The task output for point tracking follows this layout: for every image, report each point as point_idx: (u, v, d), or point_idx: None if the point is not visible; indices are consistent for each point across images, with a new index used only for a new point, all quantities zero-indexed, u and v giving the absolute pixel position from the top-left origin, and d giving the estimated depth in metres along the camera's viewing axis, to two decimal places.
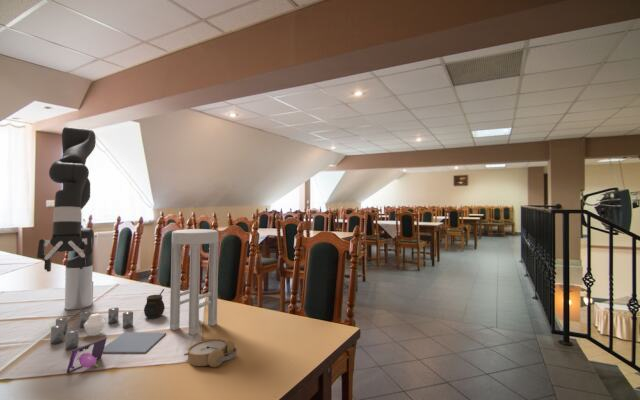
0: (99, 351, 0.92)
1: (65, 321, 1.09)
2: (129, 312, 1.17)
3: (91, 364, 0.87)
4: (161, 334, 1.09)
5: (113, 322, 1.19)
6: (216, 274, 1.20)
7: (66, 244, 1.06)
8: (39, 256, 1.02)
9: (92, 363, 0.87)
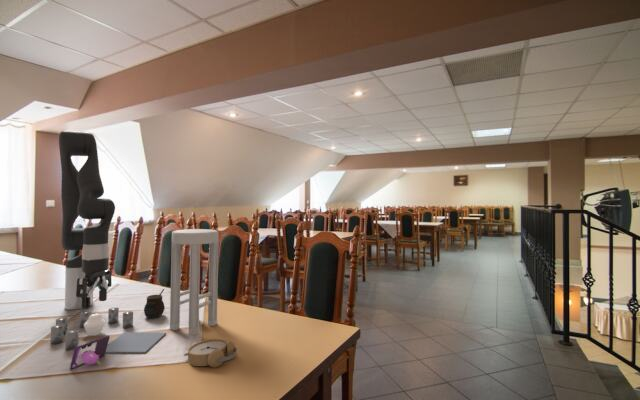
0: (102, 349, 0.94)
1: (65, 321, 1.09)
2: (129, 312, 1.17)
3: (93, 362, 0.88)
4: (161, 334, 1.09)
5: (113, 322, 1.19)
6: (216, 274, 1.20)
7: None
8: (85, 295, 1.03)
9: (94, 360, 0.88)
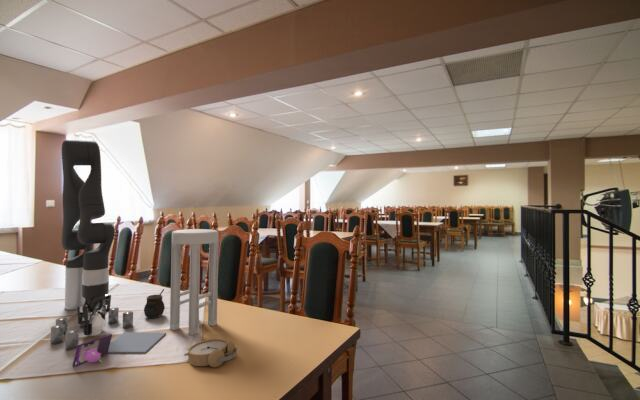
0: (105, 347, 0.95)
1: (65, 321, 1.09)
2: (129, 312, 1.17)
3: (95, 359, 0.90)
4: (161, 334, 1.09)
5: (113, 322, 1.19)
6: (216, 274, 1.20)
7: None
8: (87, 322, 1.04)
9: (96, 358, 0.90)
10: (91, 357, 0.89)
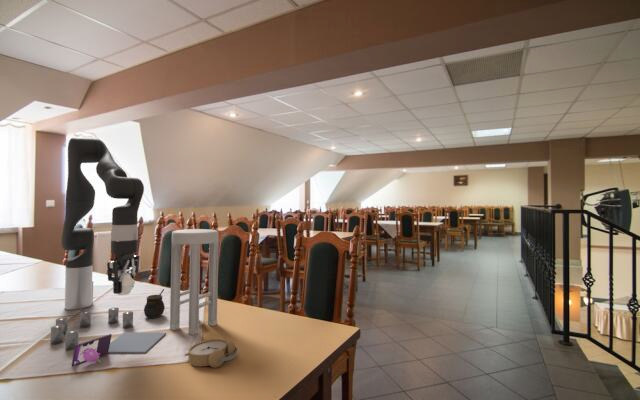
0: (105, 347, 0.95)
1: (65, 321, 1.09)
2: (129, 312, 1.17)
3: (93, 360, 0.89)
4: (161, 334, 1.09)
5: (113, 322, 1.19)
6: (216, 274, 1.20)
7: None
8: (117, 279, 0.99)
9: (94, 358, 0.89)
10: (89, 357, 0.89)
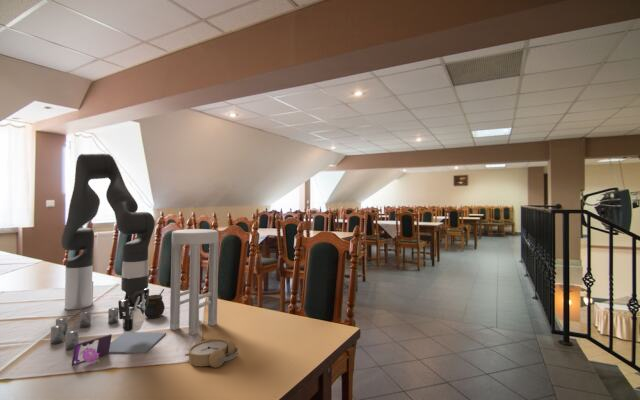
0: (105, 347, 0.95)
1: (65, 321, 1.09)
2: None
3: (92, 360, 0.89)
4: (161, 334, 1.09)
5: (113, 322, 1.19)
6: (216, 274, 1.20)
7: None
8: (128, 317, 0.98)
9: (93, 358, 0.89)
10: (88, 357, 0.89)
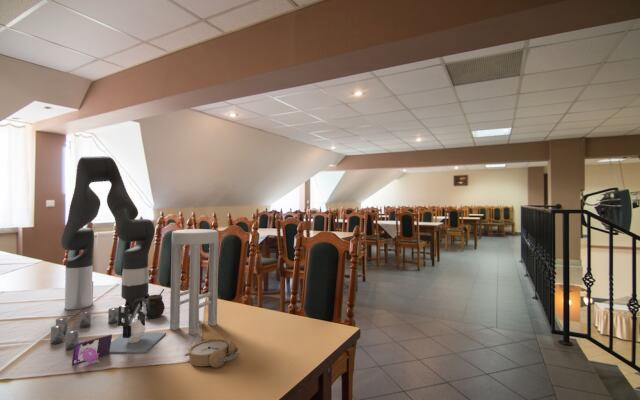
0: (105, 347, 0.95)
1: (65, 321, 1.09)
2: None
3: (92, 360, 0.89)
4: (161, 334, 1.09)
5: (113, 322, 1.19)
6: (216, 274, 1.20)
7: None
8: (127, 324, 0.97)
9: (92, 359, 0.89)
10: (87, 357, 0.89)
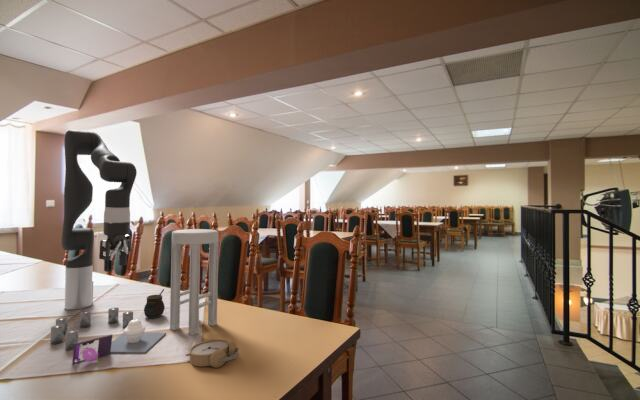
0: (106, 347, 0.95)
1: (65, 321, 1.09)
2: (129, 312, 1.17)
3: (91, 359, 0.89)
4: (161, 334, 1.09)
5: (113, 322, 1.19)
6: (216, 274, 1.20)
7: None
8: (108, 257, 1.03)
9: (92, 358, 0.89)
10: (87, 357, 0.89)
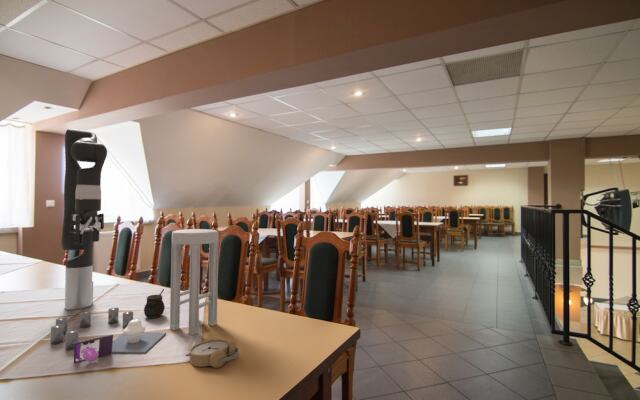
0: (107, 347, 0.95)
1: (65, 321, 1.09)
2: (129, 312, 1.17)
3: (91, 359, 0.90)
4: (161, 334, 1.09)
5: (113, 322, 1.19)
6: (216, 274, 1.20)
7: None
8: (78, 230, 1.09)
9: (91, 358, 0.90)
10: (87, 356, 0.89)
